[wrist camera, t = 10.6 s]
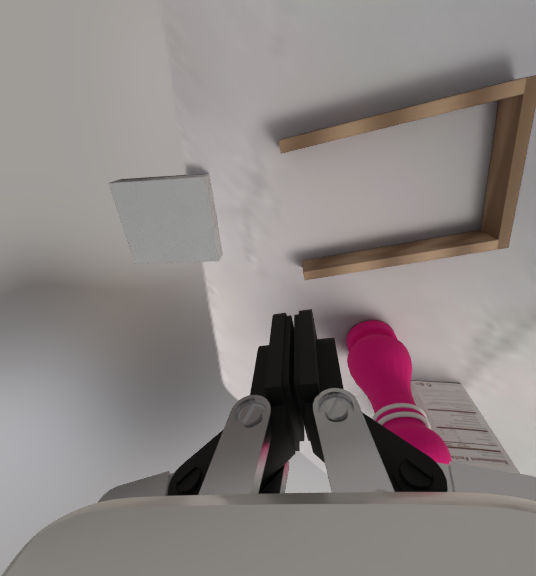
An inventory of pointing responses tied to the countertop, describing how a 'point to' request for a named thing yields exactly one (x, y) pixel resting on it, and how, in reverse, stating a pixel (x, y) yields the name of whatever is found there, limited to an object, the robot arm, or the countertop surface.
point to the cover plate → (169, 218)
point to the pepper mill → (391, 386)
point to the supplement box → (460, 425)
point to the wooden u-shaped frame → (500, 187)
